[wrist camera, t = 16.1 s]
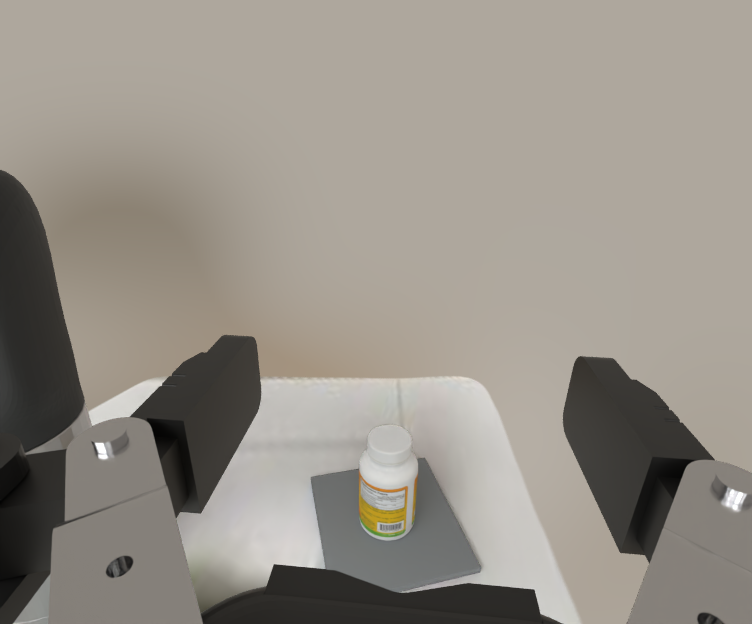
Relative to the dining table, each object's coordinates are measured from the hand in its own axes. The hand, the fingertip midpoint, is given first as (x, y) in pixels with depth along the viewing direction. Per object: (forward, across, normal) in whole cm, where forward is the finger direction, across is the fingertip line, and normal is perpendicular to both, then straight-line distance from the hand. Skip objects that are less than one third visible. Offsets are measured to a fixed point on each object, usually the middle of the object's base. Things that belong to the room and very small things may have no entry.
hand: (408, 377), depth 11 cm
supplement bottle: (+22, +1, +30) cm, 37 cm away
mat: (+22, +1, +30) cm, 37 cm away
